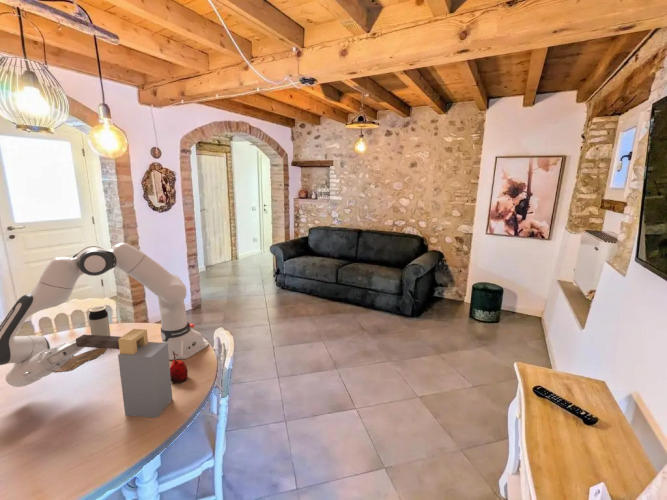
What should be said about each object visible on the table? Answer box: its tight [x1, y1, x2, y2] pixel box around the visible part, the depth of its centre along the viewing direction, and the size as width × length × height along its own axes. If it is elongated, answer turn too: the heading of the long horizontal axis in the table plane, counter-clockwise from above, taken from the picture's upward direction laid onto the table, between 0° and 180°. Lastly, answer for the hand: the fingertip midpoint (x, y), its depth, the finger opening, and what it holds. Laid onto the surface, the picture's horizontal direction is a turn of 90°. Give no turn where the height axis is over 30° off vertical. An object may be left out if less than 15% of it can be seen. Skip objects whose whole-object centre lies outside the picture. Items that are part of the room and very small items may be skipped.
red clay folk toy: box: [170, 351, 189, 384], centre depth 137 cm, size 8×7×15 cm
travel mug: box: [88, 305, 111, 336], centre depth 168 cm, size 8×8×18 cm
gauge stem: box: [75, 334, 122, 350], centre depth 117 cm, size 20×4×3 cm, turn 86°
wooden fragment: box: [54, 348, 108, 373], centre depth 153 cm, size 26×11×1 cm, turn 163°
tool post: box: [117, 328, 173, 419], centre depth 118 cm, size 12×10×30 cm
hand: (75, 347), depth 118 cm, fingers open, 8 cm apart
